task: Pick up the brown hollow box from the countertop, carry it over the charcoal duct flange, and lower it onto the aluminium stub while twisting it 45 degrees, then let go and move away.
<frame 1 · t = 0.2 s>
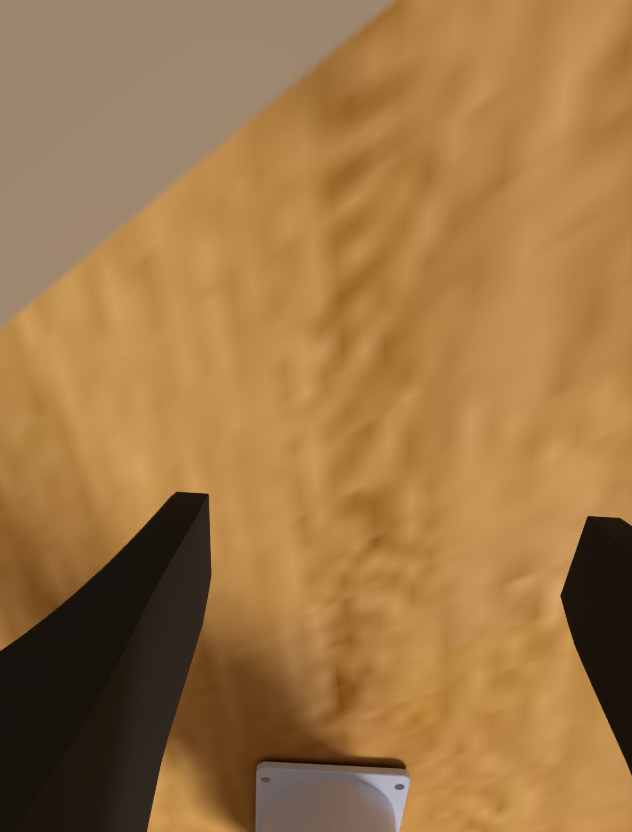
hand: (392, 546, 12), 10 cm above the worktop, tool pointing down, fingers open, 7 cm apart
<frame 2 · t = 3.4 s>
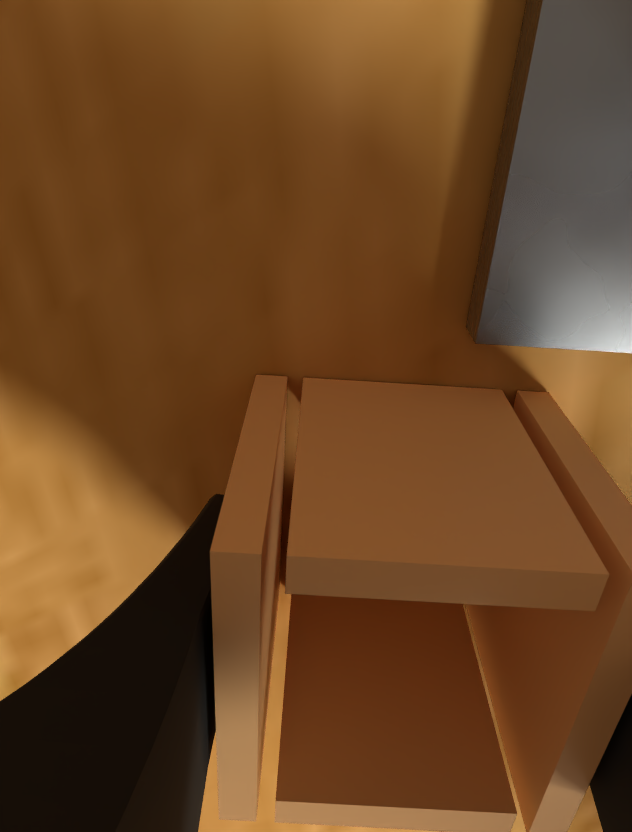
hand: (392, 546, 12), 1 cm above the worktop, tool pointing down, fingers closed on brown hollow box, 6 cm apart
brown hollow box: (386, 502, 13), on the worktop, touching gripper
when the fingers open (3 cm above the worktop, at t = 7.3 s): brown hollow box stays where it is, resting on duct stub.
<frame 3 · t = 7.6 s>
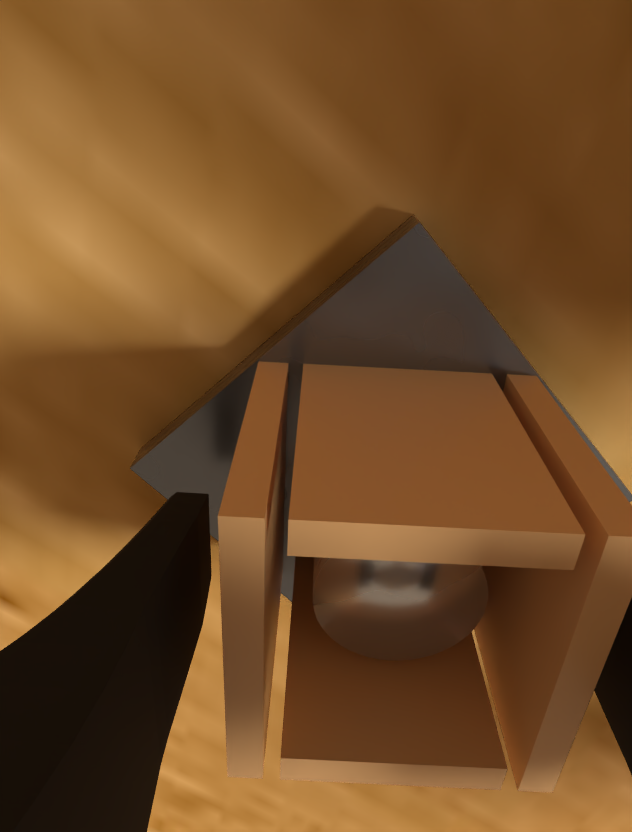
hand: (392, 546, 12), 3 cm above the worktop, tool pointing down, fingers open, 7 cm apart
brown hollow box: (383, 483, 13), point 1 cm above the worktop, touching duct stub
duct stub: (380, 464, 14), on the worktop
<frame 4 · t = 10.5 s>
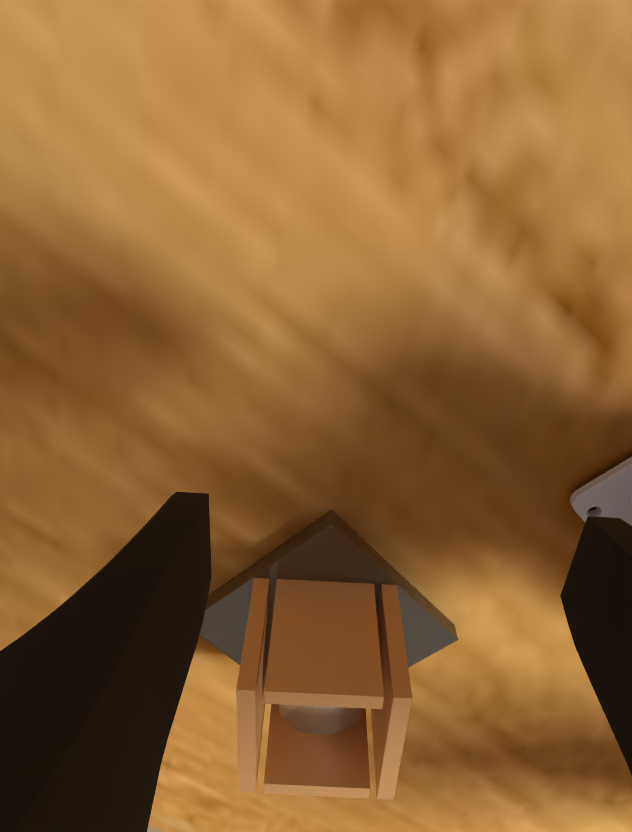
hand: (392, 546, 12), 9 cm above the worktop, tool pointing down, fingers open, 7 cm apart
brown hollow box: (321, 632, 25), point 1 cm above the worktop, touching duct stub
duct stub: (321, 617, 25), on the worktop
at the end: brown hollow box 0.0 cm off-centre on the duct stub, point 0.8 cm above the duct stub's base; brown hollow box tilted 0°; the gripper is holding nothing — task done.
